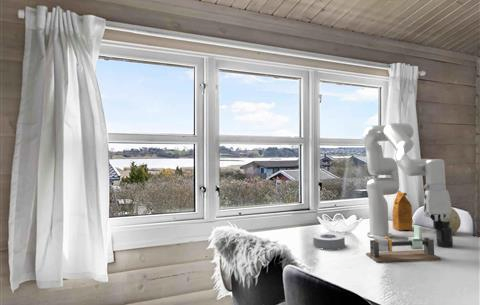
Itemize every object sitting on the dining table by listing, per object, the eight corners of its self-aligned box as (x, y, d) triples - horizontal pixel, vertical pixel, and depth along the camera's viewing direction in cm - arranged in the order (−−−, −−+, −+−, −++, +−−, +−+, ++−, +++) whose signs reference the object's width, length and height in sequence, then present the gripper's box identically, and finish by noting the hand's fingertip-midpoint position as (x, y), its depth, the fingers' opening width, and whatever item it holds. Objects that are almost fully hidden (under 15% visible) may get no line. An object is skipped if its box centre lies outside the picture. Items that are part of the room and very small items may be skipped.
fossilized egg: (461, 232, 200) (460, 205, 200) (460, 237, 190) (459, 208, 190) (435, 230, 207) (434, 204, 207) (433, 235, 196) (432, 207, 196)
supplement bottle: (455, 247, 170) (454, 222, 170) (439, 247, 171) (438, 222, 171) (449, 244, 176) (448, 219, 177) (434, 244, 178) (433, 219, 178)
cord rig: (366, 255, 163) (365, 235, 163) (425, 252, 164) (424, 233, 164) (377, 262, 151) (376, 242, 151) (440, 259, 152) (440, 239, 152)
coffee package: (408, 227, 219) (407, 190, 219) (414, 231, 207) (413, 192, 207) (390, 227, 221) (389, 190, 221) (395, 231, 208) (394, 192, 209)
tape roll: (339, 251, 171) (339, 240, 171) (308, 248, 179) (308, 237, 179) (348, 244, 184) (348, 234, 184) (319, 241, 192) (319, 231, 192)
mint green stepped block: (408, 246, 160) (407, 225, 160) (417, 246, 160) (416, 225, 160) (413, 249, 156) (412, 227, 156) (422, 249, 156) (421, 227, 156)
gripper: (423, 188, 154) (425, 232, 154) (458, 187, 155) (460, 230, 155) (414, 187, 162) (416, 229, 162) (447, 186, 163) (449, 227, 162)
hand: (438, 229), depth 158 cm, fingers closed
